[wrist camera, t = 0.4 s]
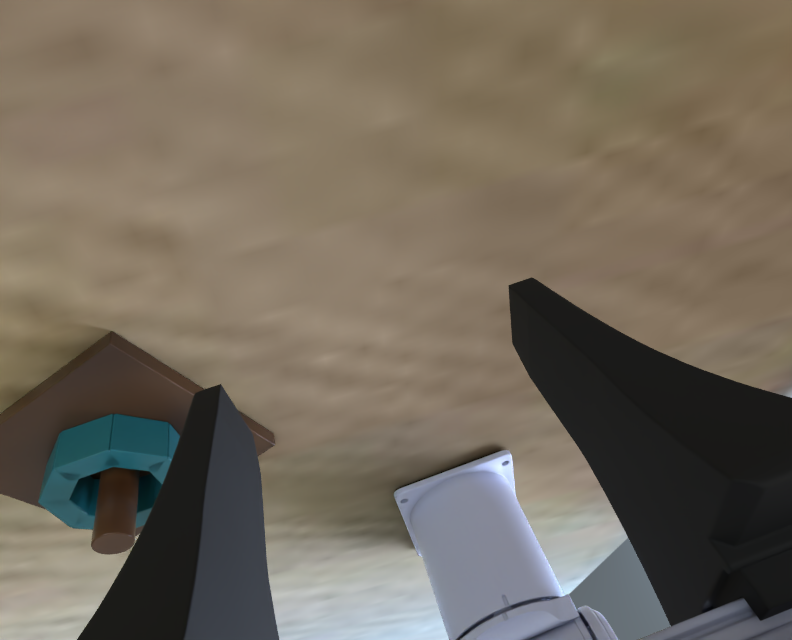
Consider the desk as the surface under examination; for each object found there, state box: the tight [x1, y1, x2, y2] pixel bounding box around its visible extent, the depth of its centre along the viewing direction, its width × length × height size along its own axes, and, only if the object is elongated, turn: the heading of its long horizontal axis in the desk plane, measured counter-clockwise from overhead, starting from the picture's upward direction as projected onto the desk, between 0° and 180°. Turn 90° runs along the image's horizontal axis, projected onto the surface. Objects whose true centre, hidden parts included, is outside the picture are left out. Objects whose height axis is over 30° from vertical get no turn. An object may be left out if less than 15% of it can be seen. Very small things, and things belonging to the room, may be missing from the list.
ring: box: [38, 414, 180, 530], centre depth 25 cm, size 6×6×2 cm
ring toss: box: [0, 331, 275, 554], centre depth 25 cm, size 10×10×5 cm
